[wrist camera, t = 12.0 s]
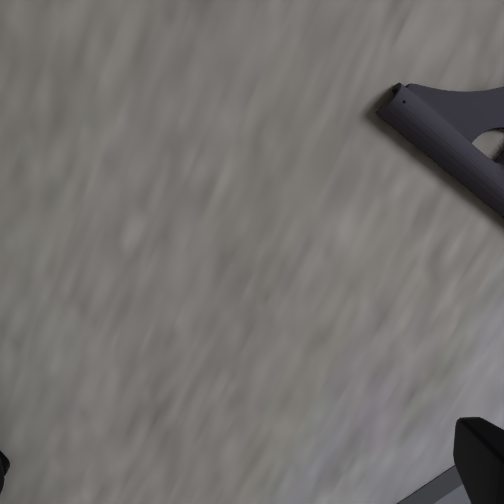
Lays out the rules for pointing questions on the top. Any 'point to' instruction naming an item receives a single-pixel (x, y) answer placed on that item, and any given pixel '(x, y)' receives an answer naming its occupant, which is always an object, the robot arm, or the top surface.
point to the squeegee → (453, 133)
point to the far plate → (441, 491)
